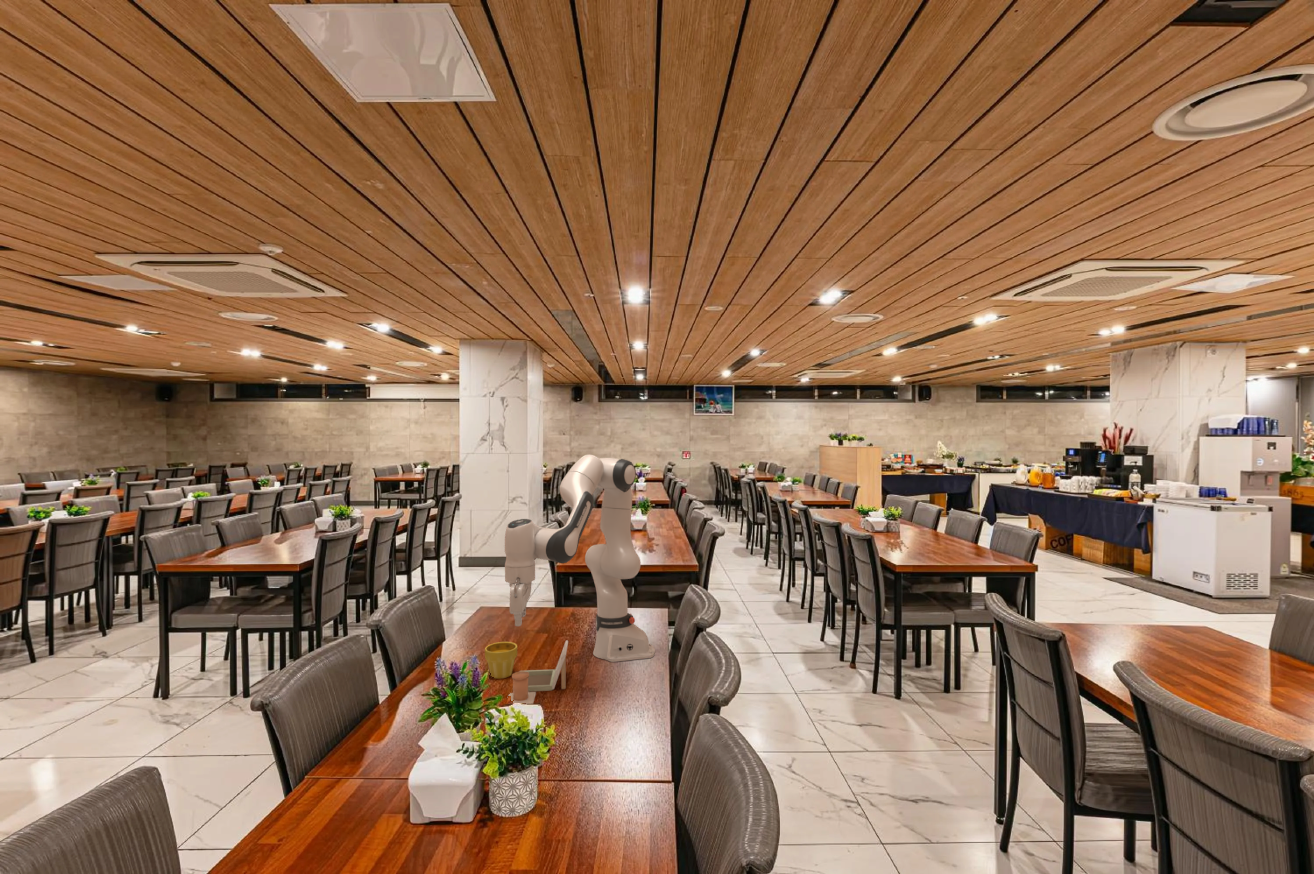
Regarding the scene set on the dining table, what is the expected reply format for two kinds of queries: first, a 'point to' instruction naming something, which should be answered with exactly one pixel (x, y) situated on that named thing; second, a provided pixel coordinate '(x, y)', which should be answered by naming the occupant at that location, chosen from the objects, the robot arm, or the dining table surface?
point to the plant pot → (501, 658)
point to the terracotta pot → (520, 685)
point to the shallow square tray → (540, 680)
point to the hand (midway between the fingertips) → (520, 620)
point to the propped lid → (561, 668)
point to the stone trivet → (528, 701)
